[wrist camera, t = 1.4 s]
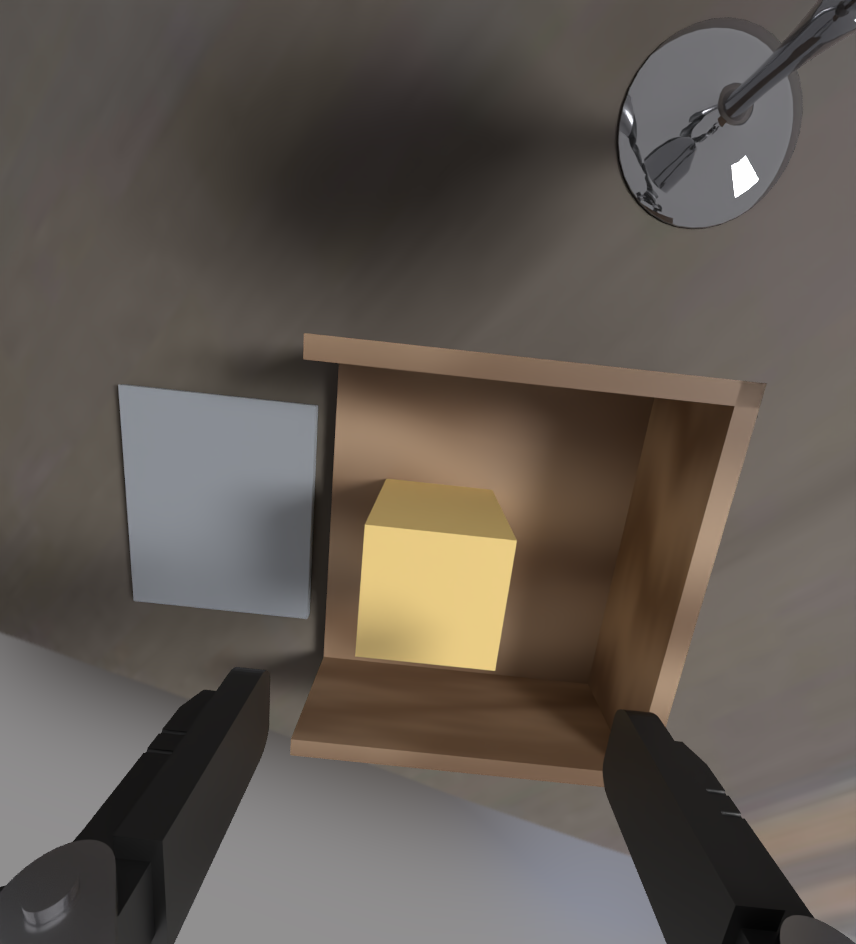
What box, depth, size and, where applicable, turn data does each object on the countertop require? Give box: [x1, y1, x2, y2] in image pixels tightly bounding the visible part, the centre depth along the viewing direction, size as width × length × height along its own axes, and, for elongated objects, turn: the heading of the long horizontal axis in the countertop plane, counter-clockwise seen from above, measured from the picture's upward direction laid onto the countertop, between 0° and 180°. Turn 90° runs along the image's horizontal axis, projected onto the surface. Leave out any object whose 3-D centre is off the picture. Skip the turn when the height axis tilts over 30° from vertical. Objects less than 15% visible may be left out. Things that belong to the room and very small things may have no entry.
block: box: [355, 479, 517, 671], centre depth 17 cm, size 5×5×6 cm
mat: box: [118, 384, 318, 619], centre depth 20 cm, size 11×9×1 cm
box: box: [291, 333, 766, 787], centre depth 18 cm, size 17×15×6 cm
